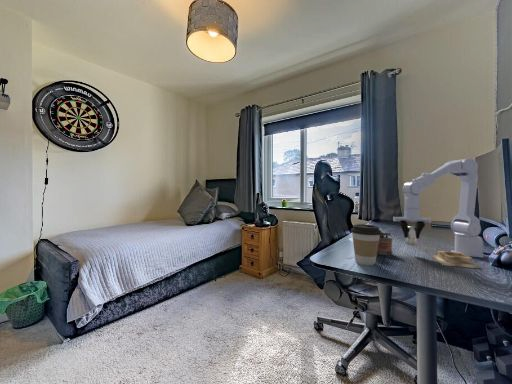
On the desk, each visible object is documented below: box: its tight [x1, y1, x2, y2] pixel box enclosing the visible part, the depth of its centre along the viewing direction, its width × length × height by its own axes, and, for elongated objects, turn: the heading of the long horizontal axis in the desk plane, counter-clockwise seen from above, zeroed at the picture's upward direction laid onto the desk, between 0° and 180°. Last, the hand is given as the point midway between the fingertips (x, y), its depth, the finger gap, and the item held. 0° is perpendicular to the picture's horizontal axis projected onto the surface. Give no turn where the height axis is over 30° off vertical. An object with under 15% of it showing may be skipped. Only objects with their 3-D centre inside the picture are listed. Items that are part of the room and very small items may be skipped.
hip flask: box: [377, 231, 393, 256], centre depth 111 cm, size 8×3×10 cm, turn 69°
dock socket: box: [431, 250, 481, 269], centre depth 99 cm, size 12×12×3 cm
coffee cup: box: [350, 223, 382, 267], centre depth 97 cm, size 11×11×15 cm
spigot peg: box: [405, 225, 418, 246], centre depth 109 cm, size 4×4×8 cm
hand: (411, 237), depth 109 cm, fingers closed on spigot peg, 4 cm apart
